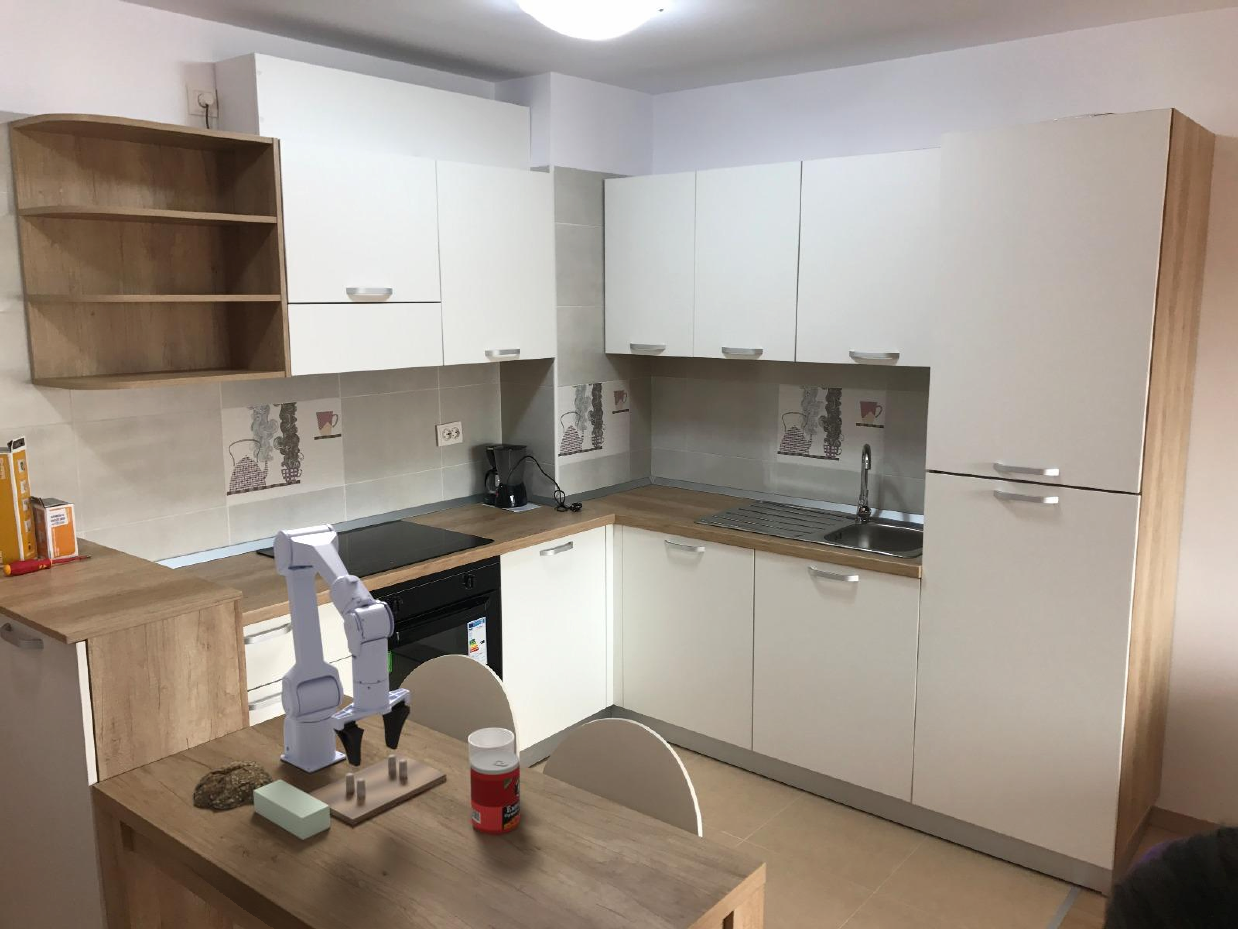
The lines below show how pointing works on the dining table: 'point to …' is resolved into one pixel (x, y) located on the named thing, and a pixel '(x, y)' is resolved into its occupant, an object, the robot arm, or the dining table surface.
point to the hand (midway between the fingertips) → (373, 756)
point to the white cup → (490, 741)
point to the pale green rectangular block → (292, 809)
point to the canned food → (495, 791)
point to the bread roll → (231, 785)
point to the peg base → (377, 787)
